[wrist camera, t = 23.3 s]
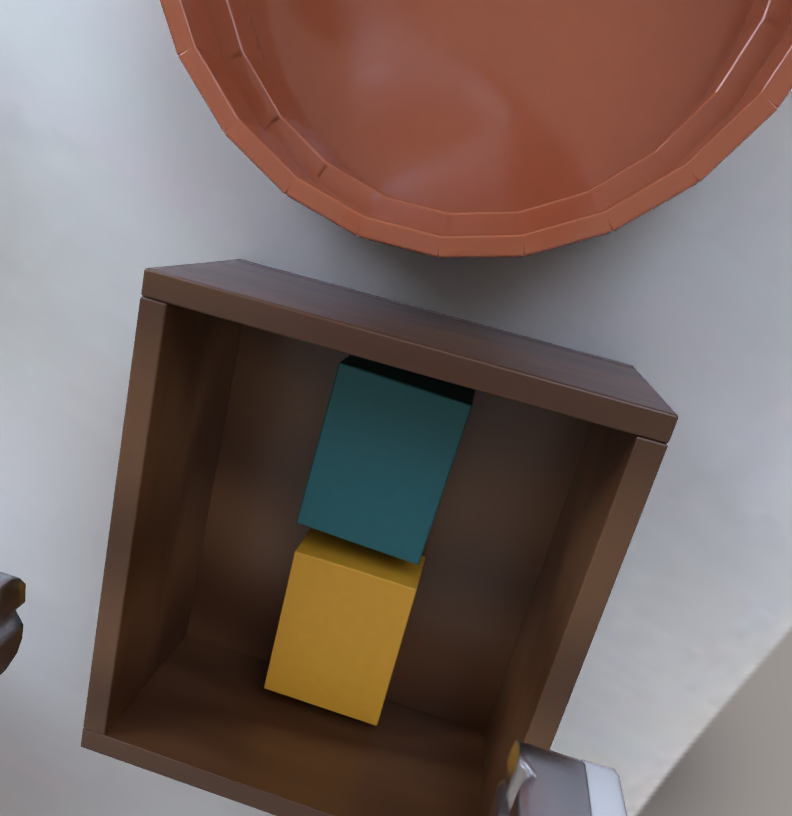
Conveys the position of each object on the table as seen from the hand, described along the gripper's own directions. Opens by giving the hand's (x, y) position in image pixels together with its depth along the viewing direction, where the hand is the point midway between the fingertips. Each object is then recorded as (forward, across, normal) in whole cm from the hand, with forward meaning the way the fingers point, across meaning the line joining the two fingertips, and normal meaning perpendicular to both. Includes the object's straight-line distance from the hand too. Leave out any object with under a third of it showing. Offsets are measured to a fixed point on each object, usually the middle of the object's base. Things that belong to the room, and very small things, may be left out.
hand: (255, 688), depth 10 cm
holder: (+15, 0, +4) cm, 16 cm away
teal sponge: (+14, 0, +1) cm, 15 cm away
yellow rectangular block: (+14, 0, +8) cm, 16 cm away
